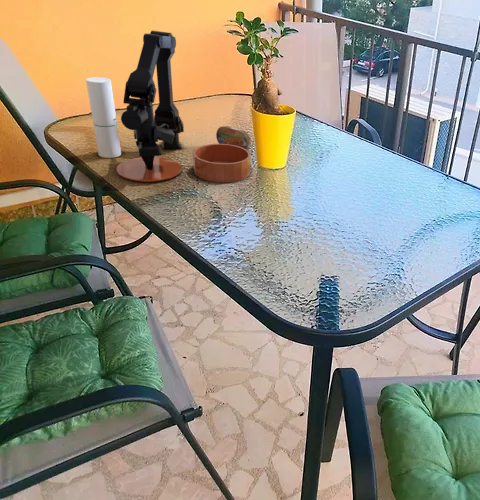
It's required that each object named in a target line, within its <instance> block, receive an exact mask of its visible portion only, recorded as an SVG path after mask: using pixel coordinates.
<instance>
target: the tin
mask: <svg viewBox="0 0 480 500" xmlns="http://www.w3.org/2000/svg"><path fill="white" fill-rule="evenodd" d="M215 137H216V141H217V144H230V145H235V146H239V147H242V148H244V149H246V150H248V151H249V150H250V148H251V145H252V140H251V137H250V135H249V133H247V131H246V130H243V129H239V128H236V127H233V126H229V125H223V126H220V127H218V128H217V130H216V133H215Z"/></svg>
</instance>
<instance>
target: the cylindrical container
mask: <svg viewBox="0 0 480 500" xmlns="http://www.w3.org/2000/svg"><path fill="white" fill-rule="evenodd" d="M85 82H86V88H87V93H88V94H87V95H88V100H89V105H90V112H91V118H92V123H93V129H94V136H95V142H96V147H97V152H98V153H97V154H98V156H99V157H101V158H106V159H108V158H109V159H113V158H117V157H120V156H121V155H122V148H121V142H120V134H119V128H118V127H119V126H118V120H117V113H116V105H115V99H114V92H113V85H112V79H111V78H109V77H103V76H92V77H90V76H89V77H86V78H85Z"/></svg>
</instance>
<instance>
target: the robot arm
mask: <svg viewBox="0 0 480 500" xmlns="http://www.w3.org/2000/svg"><path fill="white" fill-rule="evenodd" d="M142 41H143V44H142V48H141V50H140V54H139V59H138V62H137V66H136V69H135V70H133V71H132V72H130V74H129V76H128V78H127V81H126V82H125V86H124V95H123V104H125V105H127V106H126V110H125V111H123V112H122V114H121V116H120V121H121V123H122V125H123V126H124V127H125V128H126V129H128V130H130V131H133V138H134V140H135V145H136V147H137V151H138V155H139V157H141V158H142V159H143V161H144V163H145V164H146V166H147V168H148V170H152V167H153V161H154V157H160V156H162V152H161V150H162V149H163V150H181V149H183V147H182V145H181V142H180V134H181V133H184V131H185V130H184V127H185V125H184V122H183V119H181V116H180V111H179V109H178V108H177V106H176V105H175V103H174V94H173V92H174V91H173V78H172V64H171V63H172V62H171V61H172V58H173V56H174V55H175V53H176V47H177V39H176V36H174V35H173V34H172V32H169V31H168V32H167V31H159V30H151V31H150V33H144V34H143V37H142ZM155 70H156V76H157V77H156V79H157V80H156V81H157V88H156V84H155V81H154V74H155ZM157 89H158V90H157ZM157 91H158V93H157ZM156 94H158V105H157V106H156V109H155V110H154V106H153V104H155V100H156V96H157V95H156ZM159 141H161V142H160V144H158V142H159ZM160 145H161V147H160ZM161 148H162V149H161Z"/></svg>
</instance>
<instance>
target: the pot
mask: <svg viewBox="0 0 480 500" xmlns="http://www.w3.org/2000/svg"><path fill="white" fill-rule="evenodd" d="M251 156H252V155H251V152H250V151H249V150H246V149H244V148H242V147H239V146H235V145H230V144H219V143H211V144H203V145H201V146H198V147H196V148H195V149H193V151H192V163H193V165H192V167H193V172H194V174H195V176H197V177H198V178H200V179H202V180H205V181H208V182H213V183H235V182H240V181H242V180H243V181H244V180H245V179H247V178H248V177H249V176H250V175H251V161H252V159H251V158H252V157H251Z"/></svg>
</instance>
